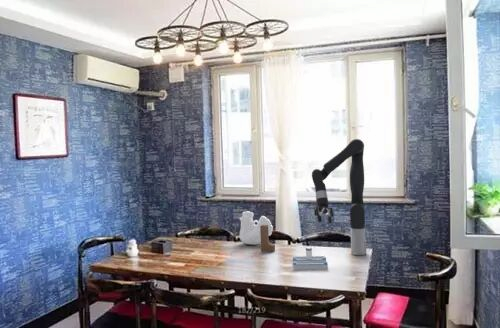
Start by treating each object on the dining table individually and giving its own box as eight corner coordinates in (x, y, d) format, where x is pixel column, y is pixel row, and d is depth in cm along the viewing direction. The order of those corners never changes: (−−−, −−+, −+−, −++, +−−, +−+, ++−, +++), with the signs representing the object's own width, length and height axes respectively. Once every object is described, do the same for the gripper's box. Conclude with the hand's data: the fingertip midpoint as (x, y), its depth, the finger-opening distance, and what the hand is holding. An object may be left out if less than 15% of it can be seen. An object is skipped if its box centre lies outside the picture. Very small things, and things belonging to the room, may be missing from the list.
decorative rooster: (236, 245, 306) (235, 212, 305) (245, 241, 321) (243, 209, 320) (268, 248, 297) (266, 213, 295) (275, 242, 311) (274, 210, 310)
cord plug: (312, 261, 259) (311, 247, 259) (312, 262, 255) (311, 248, 255) (306, 261, 259) (305, 247, 259) (306, 263, 256) (305, 248, 255)
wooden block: (275, 250, 288) (274, 225, 287) (273, 252, 284) (272, 226, 283) (263, 249, 292) (262, 224, 291) (260, 251, 288) (259, 225, 287)
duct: (324, 259, 262) (324, 253, 262) (327, 269, 242) (327, 262, 241) (292, 259, 264) (292, 253, 264) (293, 269, 243) (292, 262, 243)
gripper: (317, 195, 266) (320, 220, 260) (333, 198, 273) (337, 222, 267) (309, 199, 272) (313, 223, 266) (325, 201, 279) (329, 224, 273)
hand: (325, 222), depth 267 cm, fingers open, 8 cm apart
